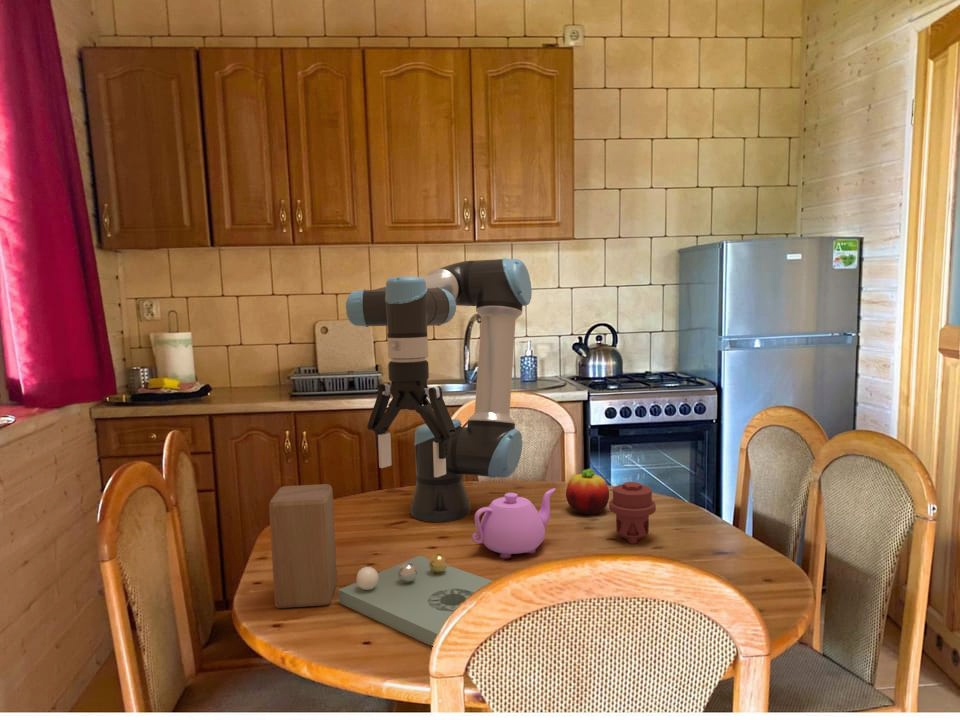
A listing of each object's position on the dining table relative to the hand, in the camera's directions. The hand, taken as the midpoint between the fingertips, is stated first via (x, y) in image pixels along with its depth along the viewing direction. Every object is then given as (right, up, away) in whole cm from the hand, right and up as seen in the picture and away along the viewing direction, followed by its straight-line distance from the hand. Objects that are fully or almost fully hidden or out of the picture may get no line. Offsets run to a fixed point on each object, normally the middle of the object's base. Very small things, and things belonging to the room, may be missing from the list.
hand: (412, 471), depth 128 cm
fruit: (+40, -17, +40) cm, 59 cm away
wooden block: (-19, -23, -3) cm, 30 cm away
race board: (+4, -23, -7) cm, 24 cm away
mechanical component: (+47, -19, +21) cm, 54 cm away
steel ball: (0, -18, -4) cm, 18 cm away
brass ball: (+5, -18, 0) cm, 18 cm away
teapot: (+21, -20, +17) cm, 33 cm away
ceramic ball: (-7, -18, -7) cm, 21 cm away
